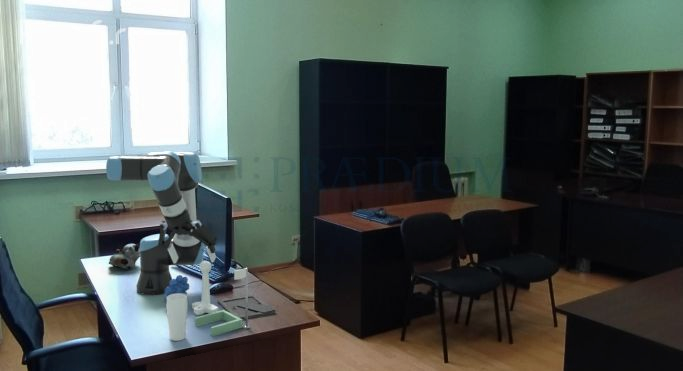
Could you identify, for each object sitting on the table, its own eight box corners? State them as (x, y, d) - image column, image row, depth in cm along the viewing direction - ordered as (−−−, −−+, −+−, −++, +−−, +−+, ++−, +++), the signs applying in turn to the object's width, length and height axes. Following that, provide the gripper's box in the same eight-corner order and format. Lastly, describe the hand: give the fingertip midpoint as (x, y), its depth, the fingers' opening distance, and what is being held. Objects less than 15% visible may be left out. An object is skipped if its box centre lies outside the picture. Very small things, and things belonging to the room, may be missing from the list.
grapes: (182, 298, 237) (181, 270, 236) (193, 302, 233) (192, 273, 231) (158, 306, 228) (157, 277, 226) (168, 310, 224) (168, 280, 222)
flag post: (232, 330, 207) (232, 269, 204) (247, 325, 211) (247, 266, 208) (236, 332, 205) (236, 271, 202) (251, 327, 210) (251, 268, 206)
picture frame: (275, 314, 224) (254, 297, 242) (275, 309, 224) (254, 293, 241) (236, 322, 216) (217, 304, 234) (235, 317, 215) (217, 299, 233)
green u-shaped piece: (194, 325, 210) (194, 317, 210) (223, 317, 219) (223, 309, 218) (212, 336, 201) (212, 328, 201) (242, 327, 210) (242, 319, 209)
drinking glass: (169, 334, 202) (168, 293, 200) (189, 334, 203) (188, 293, 200) (165, 342, 195) (164, 300, 193) (185, 342, 196) (185, 299, 194)
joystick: (220, 312, 223) (219, 262, 220) (205, 318, 217) (204, 266, 214) (200, 306, 230) (199, 257, 227) (185, 311, 223) (184, 261, 220)
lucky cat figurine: (109, 264, 281) (122, 237, 284) (133, 273, 283) (145, 247, 286) (105, 264, 267) (118, 236, 270) (130, 273, 269) (143, 245, 272)
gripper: (133, 219, 182) (156, 268, 194) (207, 216, 177) (226, 266, 189) (143, 205, 188) (164, 253, 200) (215, 201, 183) (232, 251, 195)
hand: (194, 260), depth 195 cm, fingers open, 13 cm apart
